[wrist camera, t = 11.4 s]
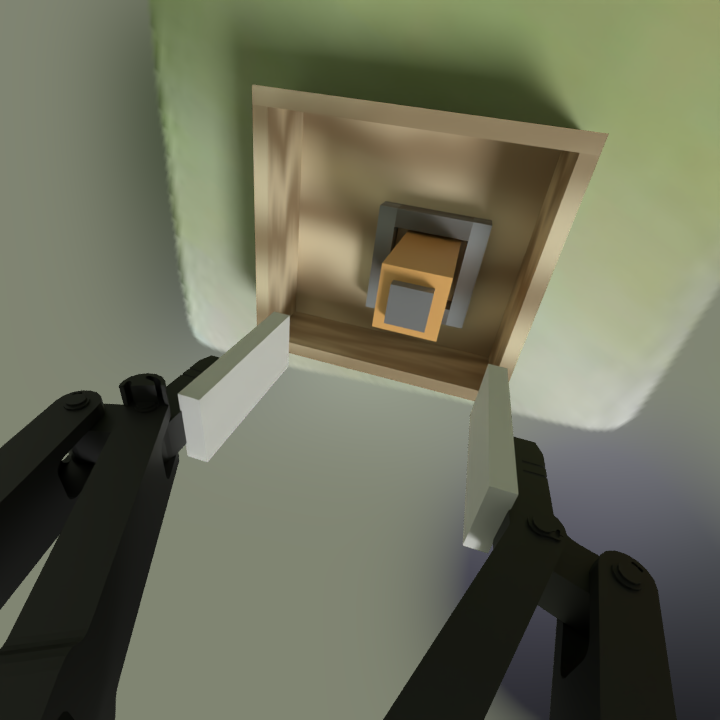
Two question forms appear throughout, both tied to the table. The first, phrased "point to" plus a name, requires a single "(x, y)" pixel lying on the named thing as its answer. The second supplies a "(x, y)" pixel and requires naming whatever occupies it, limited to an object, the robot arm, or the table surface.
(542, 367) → the table surface
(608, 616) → the robot arm
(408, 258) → the block
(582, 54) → the table surface
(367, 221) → the walled box
